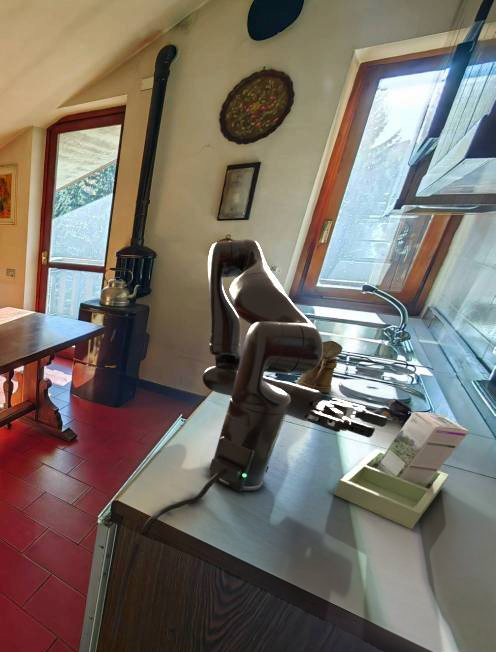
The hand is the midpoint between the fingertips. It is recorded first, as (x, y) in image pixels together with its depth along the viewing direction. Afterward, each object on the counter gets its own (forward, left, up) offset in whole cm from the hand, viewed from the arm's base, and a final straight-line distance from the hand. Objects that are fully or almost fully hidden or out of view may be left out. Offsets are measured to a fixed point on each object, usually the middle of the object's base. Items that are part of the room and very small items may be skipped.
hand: (380, 427), depth 81 cm
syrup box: (0, -6, -10) cm, 11 cm away
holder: (-5, -6, -11) cm, 13 cm away
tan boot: (+45, +24, -11) cm, 52 cm away
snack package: (+39, +3, -11) cm, 41 cm away
